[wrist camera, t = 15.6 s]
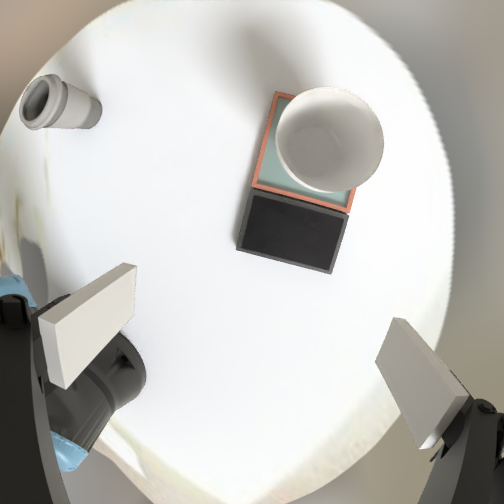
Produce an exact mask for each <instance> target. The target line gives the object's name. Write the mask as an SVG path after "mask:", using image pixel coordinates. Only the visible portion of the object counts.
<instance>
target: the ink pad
mask: <svg viewBox="0 0 504 504" xmlns="http://www.w3.org/2000/svg"><path fill="white" fill-rule="evenodd" d="M348 218H349V215H347V214H344V213H340V212H337V211H334V210H330V209H327V208H323V207H320V206H316V205H313V204H309V203H305V202H302V201H298V200H294V199H291V198H287V197H283V196H279V195H275V194H271V193H268V192H264V191H260V190H256V189H250V193H249V197H248V201H247V205H246V209H245V213H244V218H243V222H242V226H241V230H240V234H239V238H238V243H237V247H236V250H238V251H242V252H246V253H250V254H253V255H257V256H261V257H265V258H269V259H273V260H277V261H281V262H284V263H288V264H292V265H296V266H300V267H304V268H308V269H312V270H315V271H319V272H323V273H327V274H331V273H332V270H333V267H334V264H335V261H336V258H337V255H338V252H339V248H340V245H341V242H342V239H343V235H344V232H345V228H346V225H347V222H348Z"/></svg>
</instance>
